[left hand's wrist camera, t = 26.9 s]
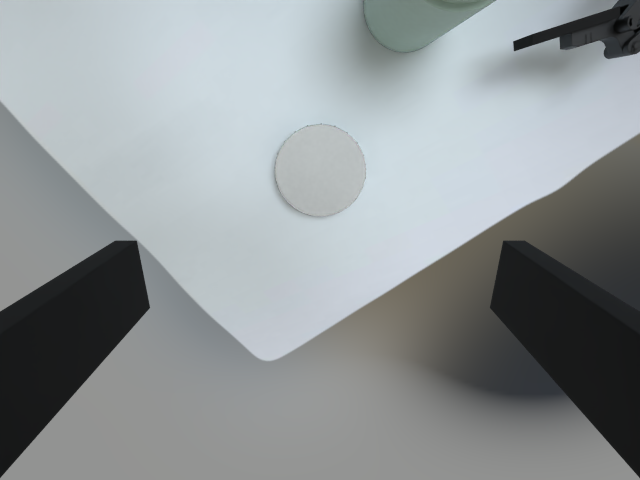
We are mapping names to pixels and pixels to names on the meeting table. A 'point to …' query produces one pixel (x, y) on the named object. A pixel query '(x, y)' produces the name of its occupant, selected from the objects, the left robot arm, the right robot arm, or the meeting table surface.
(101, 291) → the left robot arm
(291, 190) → the lid
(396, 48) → the jar
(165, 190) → the meeting table surface
